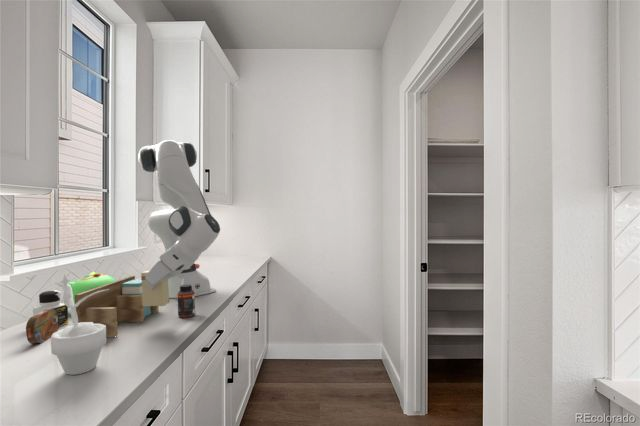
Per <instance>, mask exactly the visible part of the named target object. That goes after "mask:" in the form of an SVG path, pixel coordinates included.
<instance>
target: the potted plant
mask: <svg viewBox="0 0 640 426" xmlns="http://www.w3.org/2000/svg"><path fill="white" fill-rule="evenodd" d="M63 275H64V276H63V278H62V280H60V281H58V282H55V285H58V286H59V285H60V287H61V286H62V287H61V288H62V289H63V303H64V304H65V305H66V306H67V307H68V308H70V317H71V320H72V325H67V326H66V327H64V328H62V329H58V331H57V332H55V333H53V334H52V336H51V337H50V348H51V350H50V351H51V352H50V353H51V354H52V355H54V356H56V358H57V360H58V362H59V363H60V365H61V369H62V370H63V372H64V373H65V374H67V375H71V376H76V375H82V373H83V374H85V372H86V373H88V372H90V371H92V370H93V369H95V368H96V367H97V364H98V361H99V358H100V355H101V351H102V347H103V346H105V345H107V338H106V325H103V324H93V322H81V323H78V316H77V312H76V307H78V305H79V304H80V303H81V302H82V301H84V300H85V299H86V298H88V297H89V296H92V295H94V294H96V293H99V292H102V291H106V290H109V289H106V290H101V291H97V292H94V293H92V294H90V295H87V296H86V297H84V298H82V299H81V300H79V301H78V302H77V303H76V304H75V305H74V300H73V292H72V288H71V285H69V284H68V282H71V280H69V279H68V278H67V277H66V274H65V273H64V274H63ZM57 291H58V294H56V295H58V297H59V298H60V295H61V296H62V292H61V293H59V290H57Z"/></svg>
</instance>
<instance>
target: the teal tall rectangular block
mask: <svg viewBox="0 0 640 426" xmlns="http://www.w3.org/2000/svg"><path fill="white" fill-rule="evenodd" d="M122 294H123V295H142V280H141V279H135V280H131V281H128V282H125V283H123V284H122ZM151 314H152V313H151V306H144V318H146V317H147V316H149V315H151Z"/></svg>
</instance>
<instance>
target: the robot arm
mask: <svg viewBox="0 0 640 426" xmlns="http://www.w3.org/2000/svg"><path fill="white" fill-rule="evenodd" d="M138 152H139V153H138V156H137V157H138V163H139V164H140V166H141V168H142V170H143V171H145V172H147V173H154V172H156V180H157V185H158V191H159V196H160V199H161V201H162V202H163V203H165V204H166V205H168V206H171V207H172V208H173V209H162V210H158V211H154V212H152V213H151V214H150V215H149V217H148V221H147V224H148V227H149V230H150V231H151V232H153V233H154V234H155V235H157V237H159V239H160V240H161V242H162V244H163V245H164V250H165V251H164V252H162V254H160V256H159V260H158V261H157V262H156V263H155V264H153V266H152V267H151V269H150V271H149V272H148V274H147V275H146V277H145V280H146V281H147V282H148V283H149V285H148V286H147V288H148V289H149V290H152V289H154V288H155V287H156V285H157V284H159V283H161V282H163V281H165V280H167V279H168V283H169V299H177V294H178V292H179V291H180V286H181V285H185V284H190V285H191V287H192V288H191V289H192V290H193V291H194V295H195V297H197V296H203V295H207V294H208V295H209V294H212V293H215V292H216V288H215V287H214V286H211V283H210V280H209V278H208V277H207V276H206V275H204V274H203V273H201V272H200V271H199V270H197V269H200V264H199V263H195V262H196V261H197V260H199V258H200V256H201V254H202V253H204V252H205V251H207V250H208V249H209V248H210V246H211V245H212V244H213V243H214V242H215V240H216V239H217V238H218V236H219V235H220V232H221V227H220V224H219V222H218V221H217V220H216V219H215V217H214V216H213V215H212V214H211V212H210V210H209V206H208V205H207V203H206V199H205V197H204V195H203V193H202V190H201V189H200V187H199V185H198V183H197V181H196V180H195V177H194V175H193V172H192V170H191V169H190V168H191V167H194V166H195V164H196V163H197V160H198V159H197V158H198V154H197V150H196V148H195V147H194V145H193V144H192V143H191V142H187V141H183V142H177V141H175V140H171V139H167V140H165V139H164V140H163V141H161V142H159V143H158V144H155V145H145V146H142V147H141V148H140V149H139V151H138Z"/></svg>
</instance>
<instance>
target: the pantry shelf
mask: <svg viewBox="0 0 640 426" xmlns="http://www.w3.org/2000/svg"><path fill="white" fill-rule="evenodd" d="M135 277H136V276H135V275H129V276H126V277H123V278H121V279H117V280H116V281H114V282H111V283H108V284H105V285H103V286H100V287H97V288H94V289H91V290H88V291H85V292H82V293H79V294H76V295H75V304H76V303H77V302H78V301H79V300H81V299H82V298H84V297H86V296H87V295H90V294H92V293H94V292H97V291H101V290H106V289H109V290H106V291H102V292H99V293H96V294H94V295H92V296H89V297H88V298H86V299H85V300H84V301H82V302H81V303H80V304H79V305H78V307H76V312H77V316H78V323H81V322H93V324H103V325H106V337H115V336H116V337H118V336H119V335H118V333H119V332H118V323H119V322H121V323H123V322H124V323H125V322H126V323H129V322H130V323H131V322H132V323H133V322H139V323H140V322H141V323H142V322H144V321H145V317H144V306H143V301H142V295H123V294H122V284H123V283H125V282H128V281H131V280H136V278H135ZM159 307H160V306H151V314H157V313H159ZM117 335H118V336H117ZM116 337H115V338H116Z"/></svg>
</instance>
